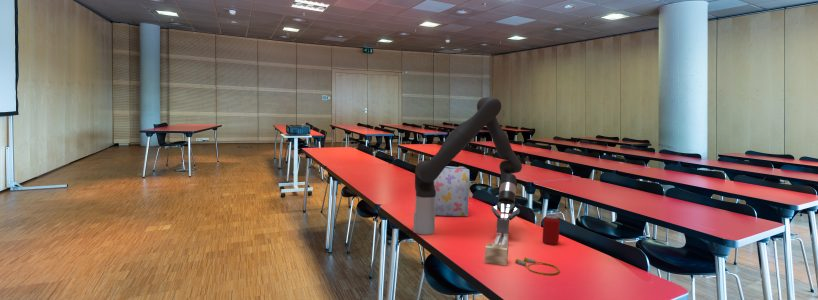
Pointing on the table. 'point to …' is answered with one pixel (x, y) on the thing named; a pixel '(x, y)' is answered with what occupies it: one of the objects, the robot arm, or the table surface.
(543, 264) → the extension cord
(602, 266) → the table surface
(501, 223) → the dark grey block
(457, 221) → the table surface
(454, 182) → the lunch bag
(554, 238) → the beverage can
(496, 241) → the guide sleeve
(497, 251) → the socket block
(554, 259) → the table surface
